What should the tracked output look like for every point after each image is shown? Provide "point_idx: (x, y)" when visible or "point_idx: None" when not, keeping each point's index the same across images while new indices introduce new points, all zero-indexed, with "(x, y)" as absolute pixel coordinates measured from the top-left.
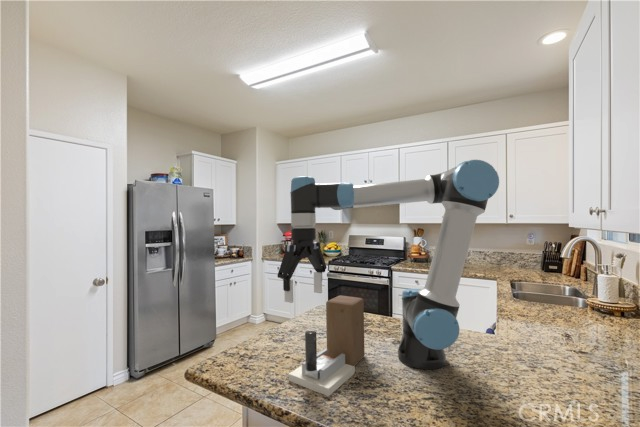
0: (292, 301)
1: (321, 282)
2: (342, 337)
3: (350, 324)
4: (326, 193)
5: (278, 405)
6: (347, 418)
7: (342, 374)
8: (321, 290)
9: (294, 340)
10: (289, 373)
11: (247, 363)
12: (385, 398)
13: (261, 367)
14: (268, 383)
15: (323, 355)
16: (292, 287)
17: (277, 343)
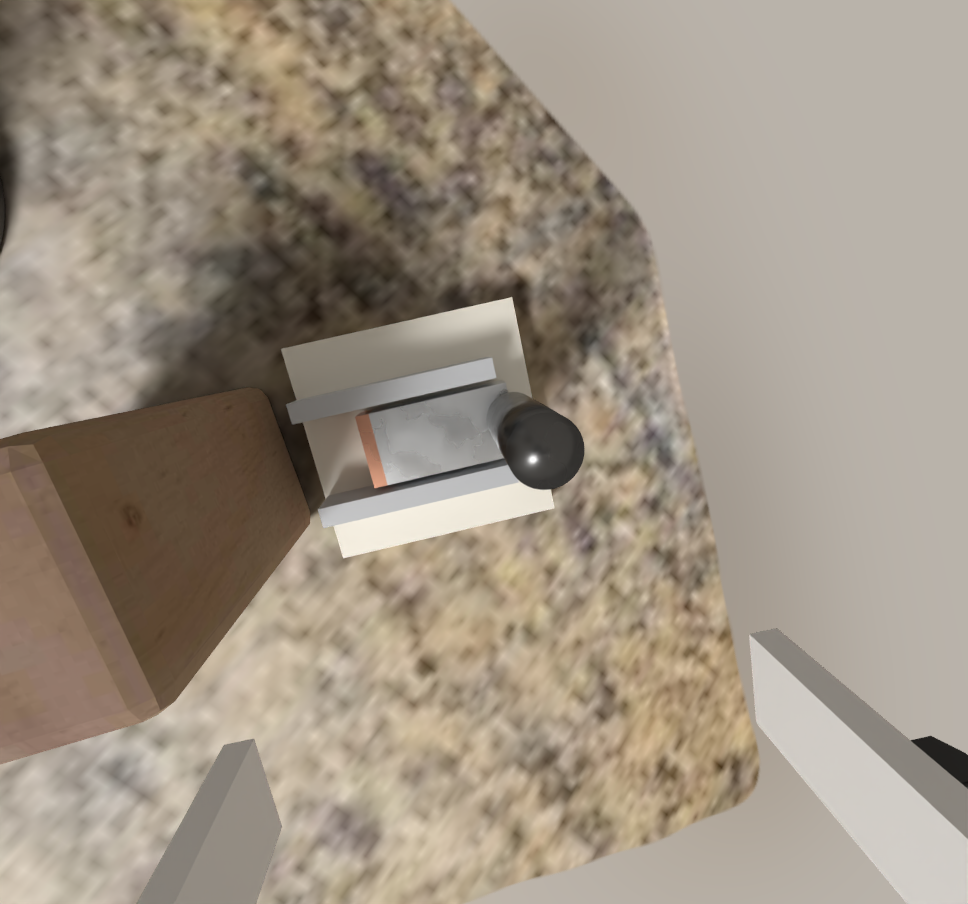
0: (769, 638)
1: (159, 878)
2: (232, 463)
3: (158, 421)
4: None
5: (676, 390)
6: (555, 144)
7: (382, 337)
8: (219, 769)
9: (292, 787)
10: (550, 507)
11: (585, 721)
12: (341, 111)
13: (564, 658)
14: (615, 536)
15: (378, 479)
16: (898, 759)
17: (378, 806)
